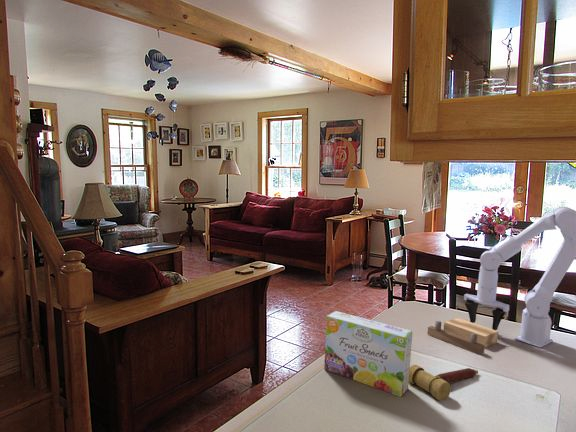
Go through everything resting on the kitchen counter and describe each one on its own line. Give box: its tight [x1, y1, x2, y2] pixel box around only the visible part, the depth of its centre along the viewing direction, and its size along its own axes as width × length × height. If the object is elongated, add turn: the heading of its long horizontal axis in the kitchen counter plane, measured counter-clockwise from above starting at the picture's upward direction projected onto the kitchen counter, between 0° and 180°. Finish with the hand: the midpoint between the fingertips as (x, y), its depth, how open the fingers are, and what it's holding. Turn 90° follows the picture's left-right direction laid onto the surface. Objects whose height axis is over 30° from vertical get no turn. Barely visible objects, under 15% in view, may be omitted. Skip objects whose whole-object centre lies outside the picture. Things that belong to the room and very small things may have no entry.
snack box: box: [324, 310, 413, 398], centre depth 105 cm, size 21×6×15 cm, turn 55°
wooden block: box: [443, 317, 499, 348], centre depth 136 cm, size 8×14×4 cm, turn 36°
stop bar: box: [427, 320, 486, 356], centre depth 131 cm, size 2×18×5 cm, turn 37°
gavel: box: [409, 364, 479, 402], centre depth 106 cm, size 21×5×10 cm
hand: (483, 326), depth 141 cm, fingers open, 7 cm apart
